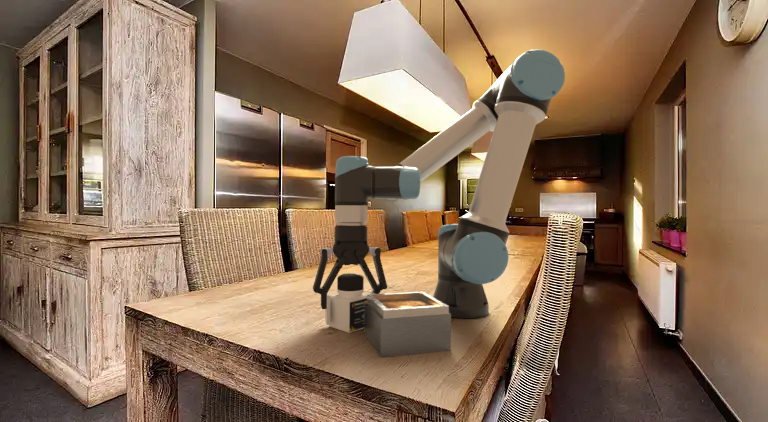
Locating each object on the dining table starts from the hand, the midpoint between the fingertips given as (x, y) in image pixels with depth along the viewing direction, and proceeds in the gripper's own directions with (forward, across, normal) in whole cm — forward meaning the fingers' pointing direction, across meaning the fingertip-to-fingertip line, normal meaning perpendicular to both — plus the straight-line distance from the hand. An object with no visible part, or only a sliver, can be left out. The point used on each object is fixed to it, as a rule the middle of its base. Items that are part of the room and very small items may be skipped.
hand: (350, 321), depth 84 cm
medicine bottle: (+1, 0, 0) cm, 1 cm away
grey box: (+1, -9, +12) cm, 15 cm away
